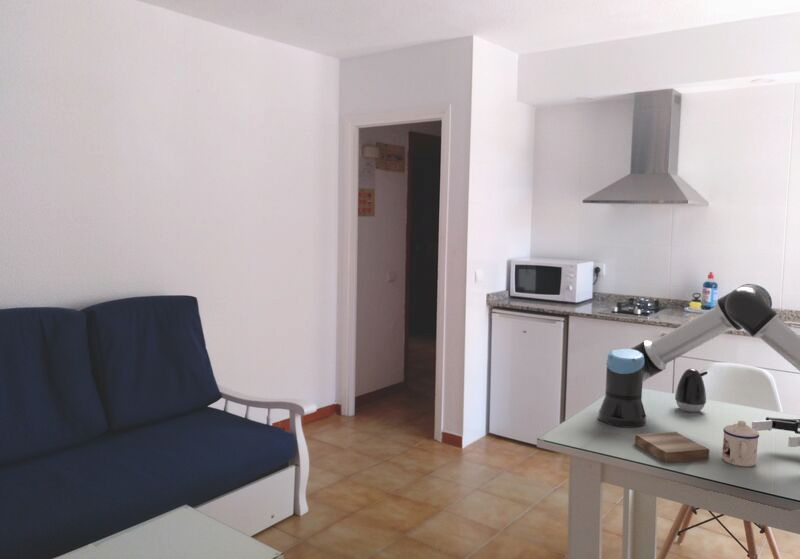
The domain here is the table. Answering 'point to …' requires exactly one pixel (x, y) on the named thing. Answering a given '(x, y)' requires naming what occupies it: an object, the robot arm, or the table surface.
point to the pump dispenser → (691, 391)
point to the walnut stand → (671, 447)
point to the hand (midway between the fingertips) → (770, 433)
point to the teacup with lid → (740, 444)
